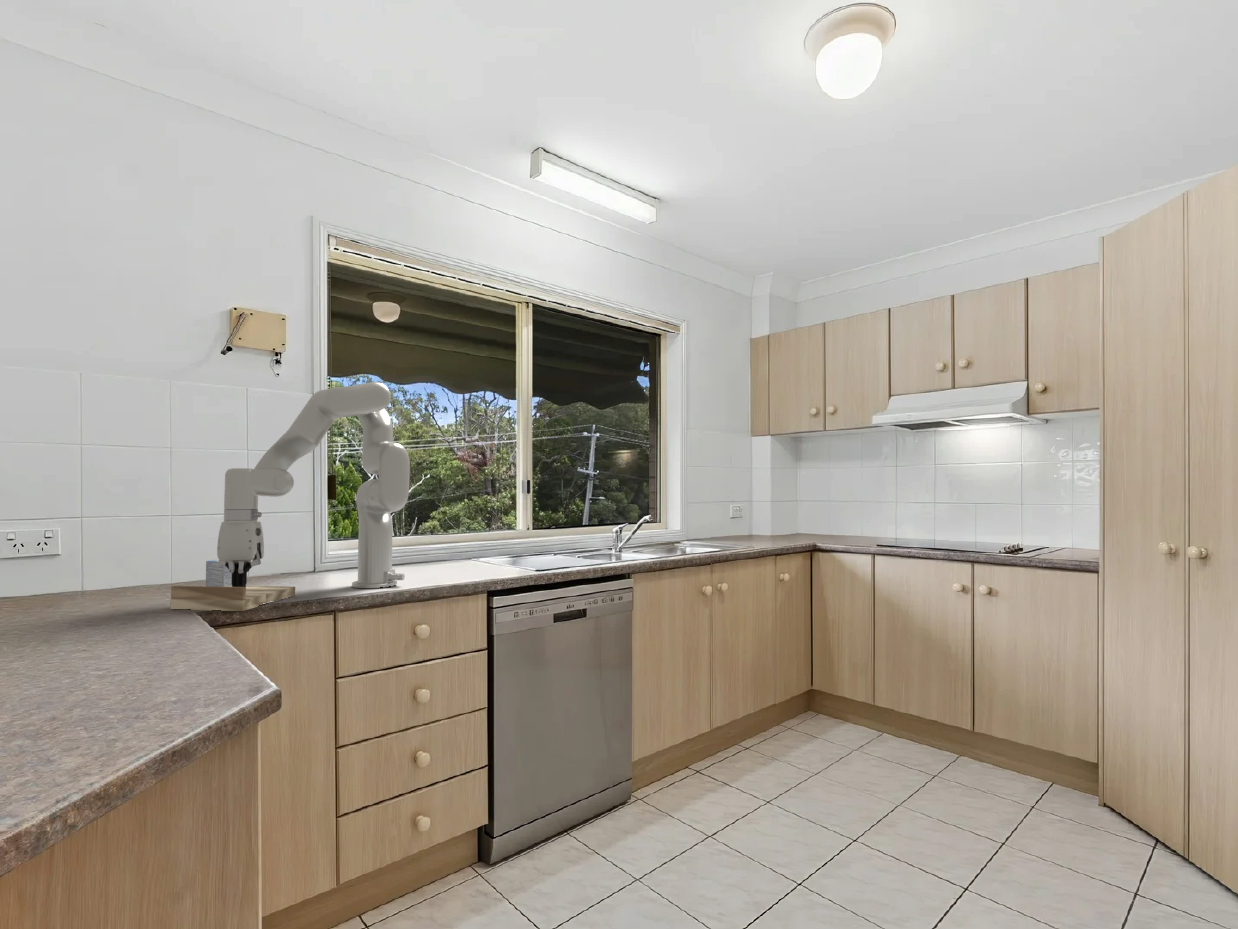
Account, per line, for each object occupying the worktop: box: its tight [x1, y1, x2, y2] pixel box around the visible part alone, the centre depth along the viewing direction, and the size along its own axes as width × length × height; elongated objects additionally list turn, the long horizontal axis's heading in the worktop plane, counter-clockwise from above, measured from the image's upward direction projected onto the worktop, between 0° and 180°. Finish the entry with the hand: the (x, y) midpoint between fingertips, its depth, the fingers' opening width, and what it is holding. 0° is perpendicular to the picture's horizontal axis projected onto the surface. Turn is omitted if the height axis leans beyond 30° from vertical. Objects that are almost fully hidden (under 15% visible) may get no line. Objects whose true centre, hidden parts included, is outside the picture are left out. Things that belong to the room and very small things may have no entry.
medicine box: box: [205, 558, 232, 587], centre depth 187 cm, size 8×4×9 cm, turn 65°
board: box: [170, 585, 296, 612], centre depth 169 cm, size 22×18×6 cm
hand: (238, 588), depth 169 cm, fingers closed
